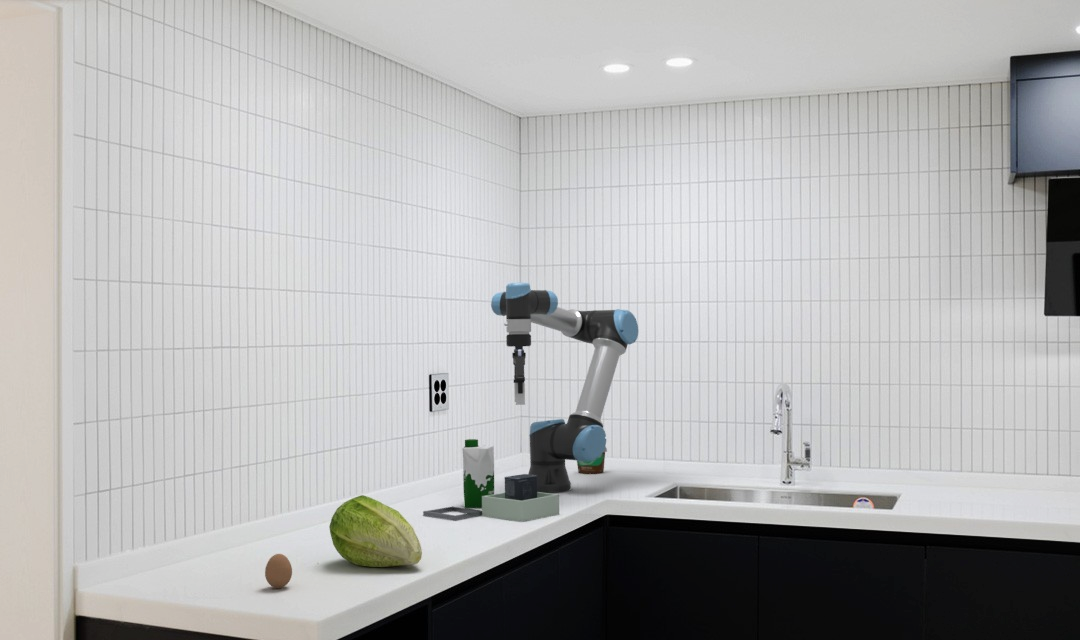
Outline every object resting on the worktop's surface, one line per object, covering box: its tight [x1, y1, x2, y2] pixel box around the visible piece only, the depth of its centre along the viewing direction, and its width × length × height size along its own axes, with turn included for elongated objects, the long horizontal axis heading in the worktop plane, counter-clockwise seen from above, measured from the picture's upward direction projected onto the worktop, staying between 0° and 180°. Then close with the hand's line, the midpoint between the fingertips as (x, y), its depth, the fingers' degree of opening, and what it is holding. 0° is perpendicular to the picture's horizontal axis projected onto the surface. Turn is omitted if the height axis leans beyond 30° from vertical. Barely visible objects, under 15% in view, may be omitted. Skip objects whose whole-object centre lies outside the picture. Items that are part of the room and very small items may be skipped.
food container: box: [576, 445, 608, 475], centre depth 391 cm, size 12×6×10 cm, turn 81°
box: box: [504, 473, 537, 501], centre depth 302 cm, size 8×6×11 cm
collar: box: [422, 505, 483, 522], centre depth 303 cm, size 12×14×1 cm
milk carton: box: [461, 438, 495, 509], centre depth 319 cm, size 9×9×20 cm
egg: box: [264, 553, 293, 589], centre depth 217 cm, size 5×5×7 cm
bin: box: [481, 491, 560, 522], centre depth 302 cm, size 16×16×6 cm
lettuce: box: [329, 494, 423, 568], centre depth 238 cm, size 15×25×16 cm
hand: (519, 403), depth 321 cm, fingers open, 13 cm apart
